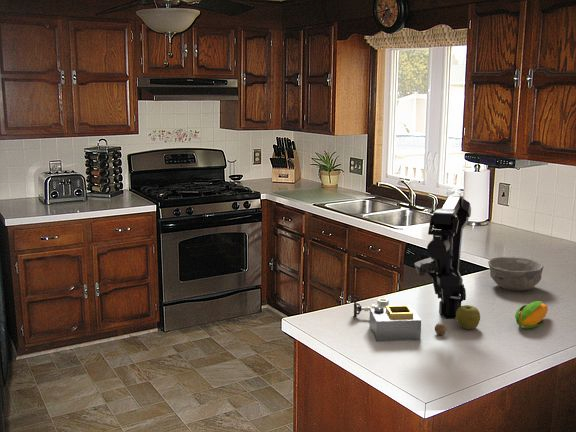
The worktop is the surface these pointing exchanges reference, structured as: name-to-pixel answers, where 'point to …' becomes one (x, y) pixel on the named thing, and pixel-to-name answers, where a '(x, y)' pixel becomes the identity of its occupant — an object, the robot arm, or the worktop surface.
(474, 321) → the apple
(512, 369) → the worktop surface
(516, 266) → the bowl
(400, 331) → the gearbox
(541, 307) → the corn
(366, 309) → the valve
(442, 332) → the bead
